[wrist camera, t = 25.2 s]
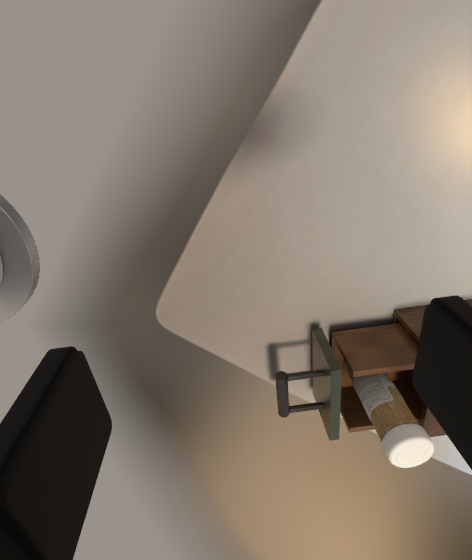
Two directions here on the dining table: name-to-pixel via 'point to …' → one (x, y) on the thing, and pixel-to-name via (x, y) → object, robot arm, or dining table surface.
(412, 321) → the cabinet
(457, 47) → the dining table surface
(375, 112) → the dining table surface
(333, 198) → the dining table surface
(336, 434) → the drawer
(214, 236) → the dining table surface
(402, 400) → the sprinkles bottle
